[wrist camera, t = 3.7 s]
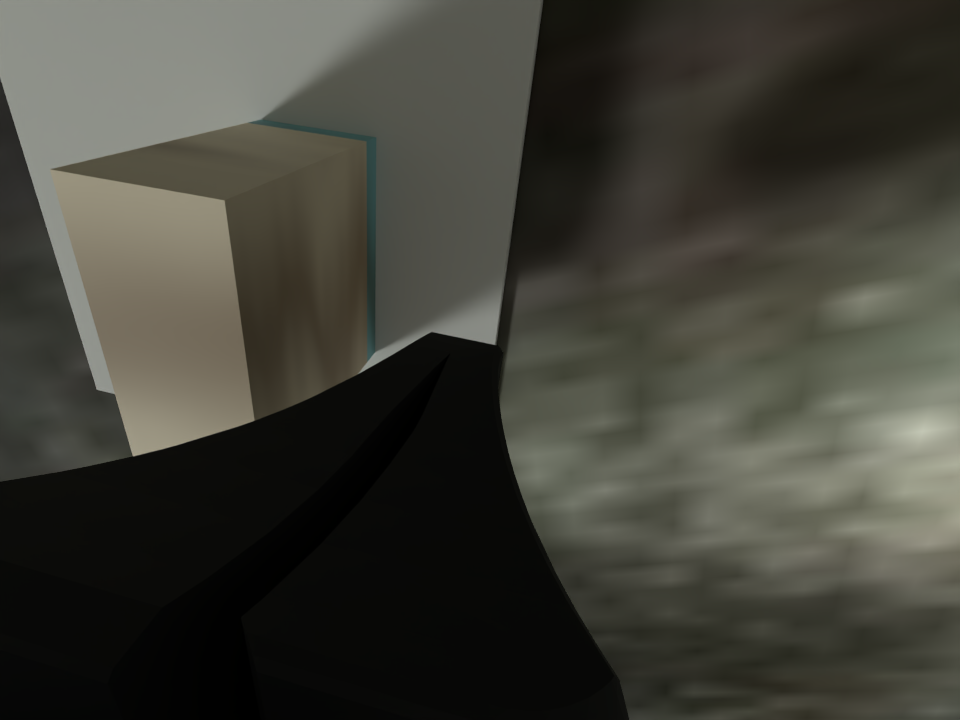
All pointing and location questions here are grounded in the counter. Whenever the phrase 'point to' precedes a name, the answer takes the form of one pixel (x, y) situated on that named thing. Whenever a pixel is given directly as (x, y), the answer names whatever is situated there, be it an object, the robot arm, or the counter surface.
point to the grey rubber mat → (301, 121)
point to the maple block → (226, 272)
